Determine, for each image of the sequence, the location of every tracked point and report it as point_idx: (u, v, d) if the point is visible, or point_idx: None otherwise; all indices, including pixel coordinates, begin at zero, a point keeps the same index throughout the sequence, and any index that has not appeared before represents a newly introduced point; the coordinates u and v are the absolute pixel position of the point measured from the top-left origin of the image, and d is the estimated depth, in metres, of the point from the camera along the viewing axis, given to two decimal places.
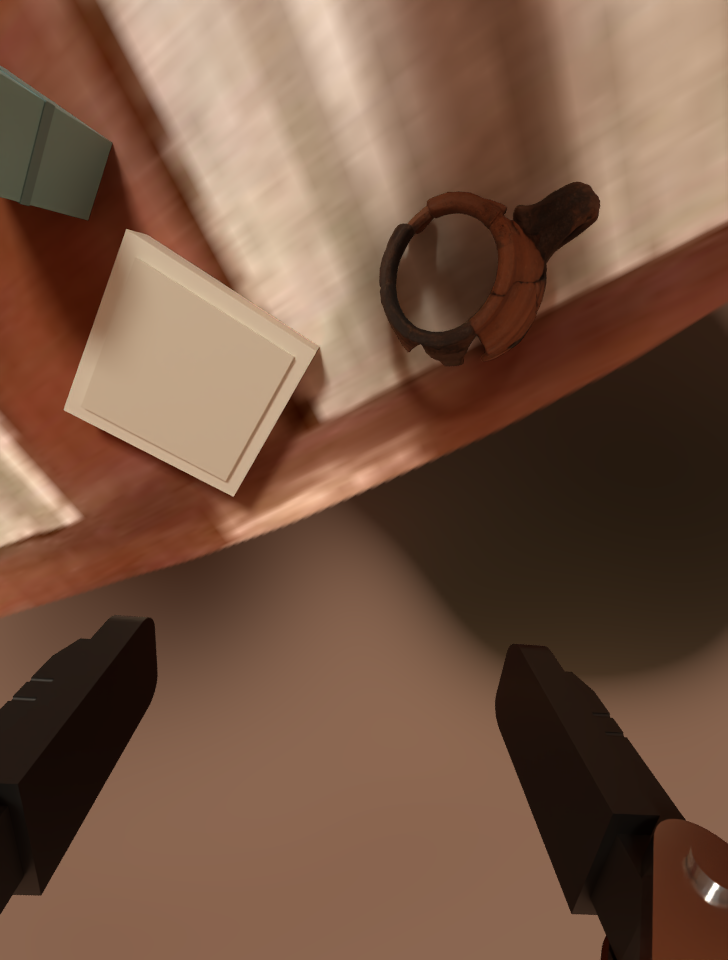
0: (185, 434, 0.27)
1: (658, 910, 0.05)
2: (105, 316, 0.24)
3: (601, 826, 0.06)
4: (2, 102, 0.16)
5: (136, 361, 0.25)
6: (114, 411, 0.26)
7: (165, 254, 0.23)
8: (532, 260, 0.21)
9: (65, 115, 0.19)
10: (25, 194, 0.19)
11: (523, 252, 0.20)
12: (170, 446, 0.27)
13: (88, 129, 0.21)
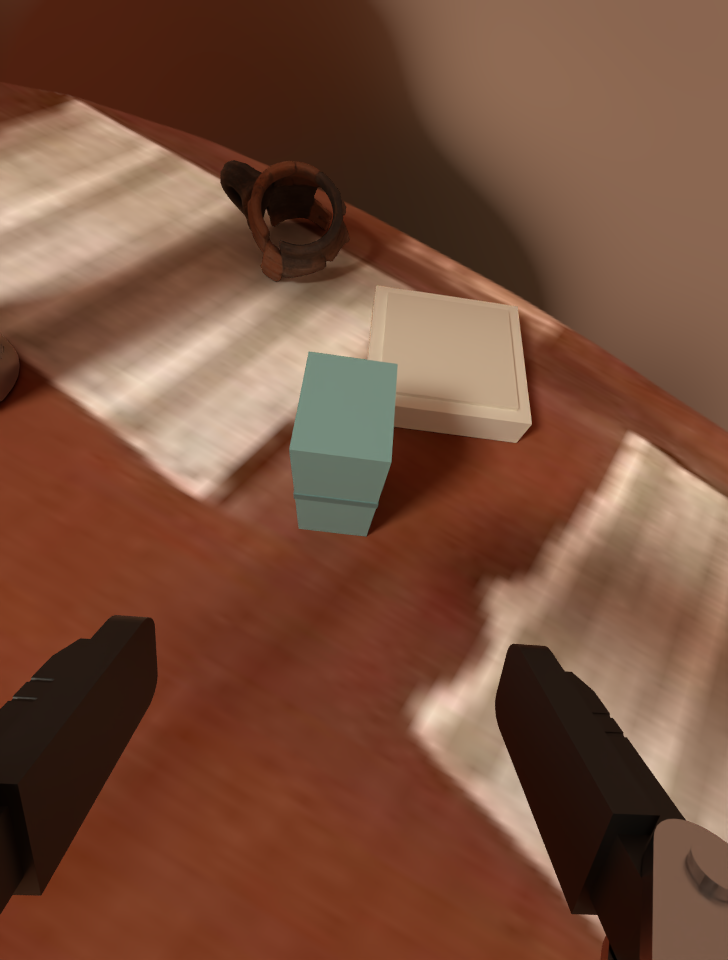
0: (489, 339, 0.32)
1: (657, 910, 0.05)
2: (434, 405, 0.29)
3: (601, 826, 0.06)
4: None
5: (454, 378, 0.29)
6: (505, 386, 0.30)
7: None
8: None
9: None
10: None
11: None
12: (506, 347, 0.31)
13: None
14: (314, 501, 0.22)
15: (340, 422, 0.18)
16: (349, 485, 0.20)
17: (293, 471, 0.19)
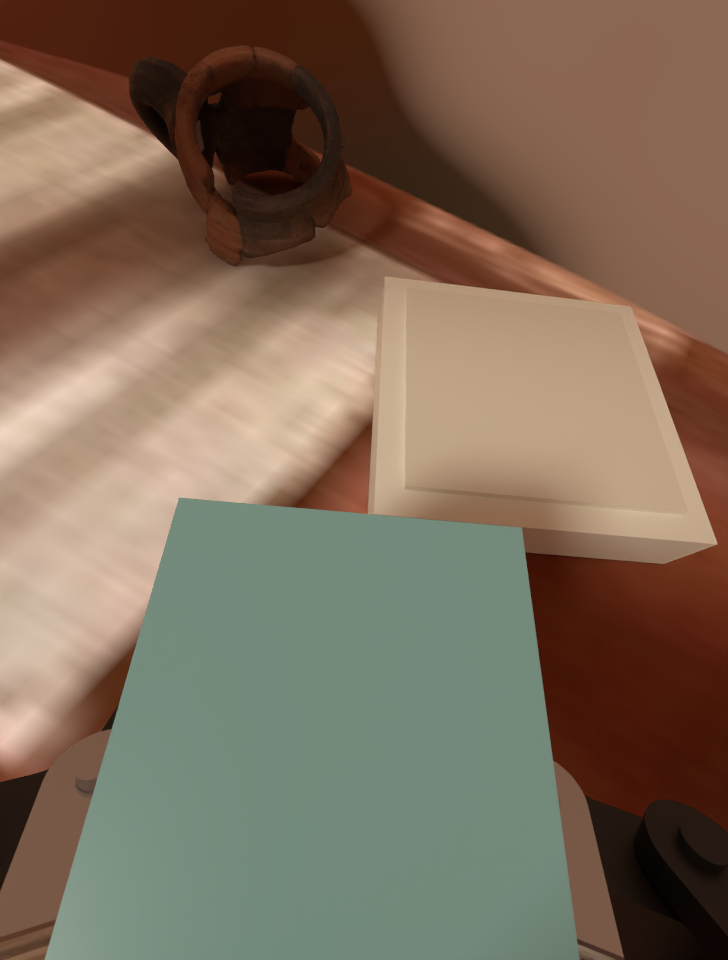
0: (600, 369, 0.17)
1: None
2: (519, 514, 0.14)
3: None
4: None
5: (551, 451, 0.15)
6: (651, 462, 0.15)
7: (377, 457, 0.14)
8: None
9: None
10: None
11: None
12: (634, 382, 0.17)
13: None
14: None
15: (300, 943, 0.03)
16: None
17: None
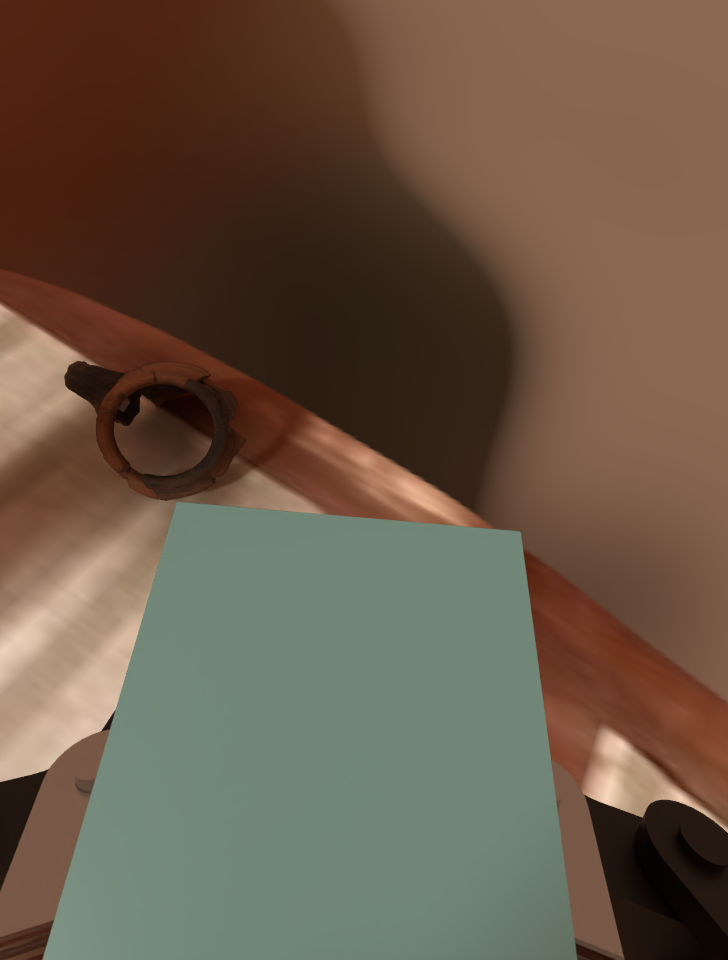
0: None
1: None
2: None
3: None
4: None
5: None
6: None
7: None
8: (125, 377, 0.25)
9: None
10: None
11: None
12: None
13: None
14: None
15: (297, 953, 0.03)
16: None
17: None
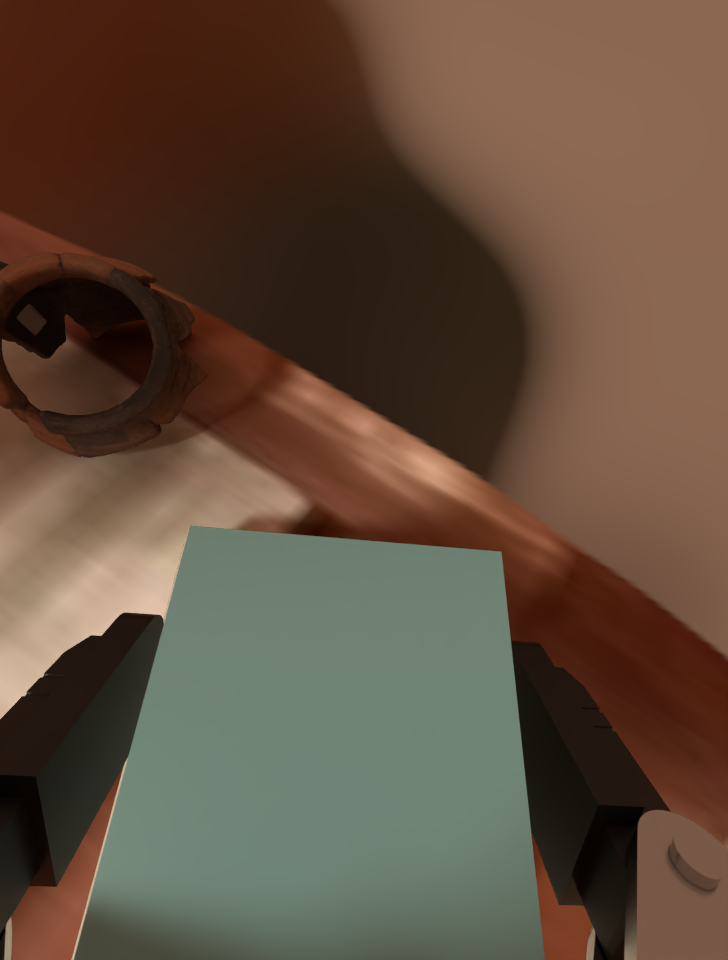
0: None
1: (640, 897, 0.05)
2: None
3: (588, 817, 0.06)
4: None
5: None
6: None
7: (101, 856, 0.12)
8: None
9: None
10: None
11: None
12: None
13: None
14: None
15: (299, 923, 0.04)
16: None
17: None
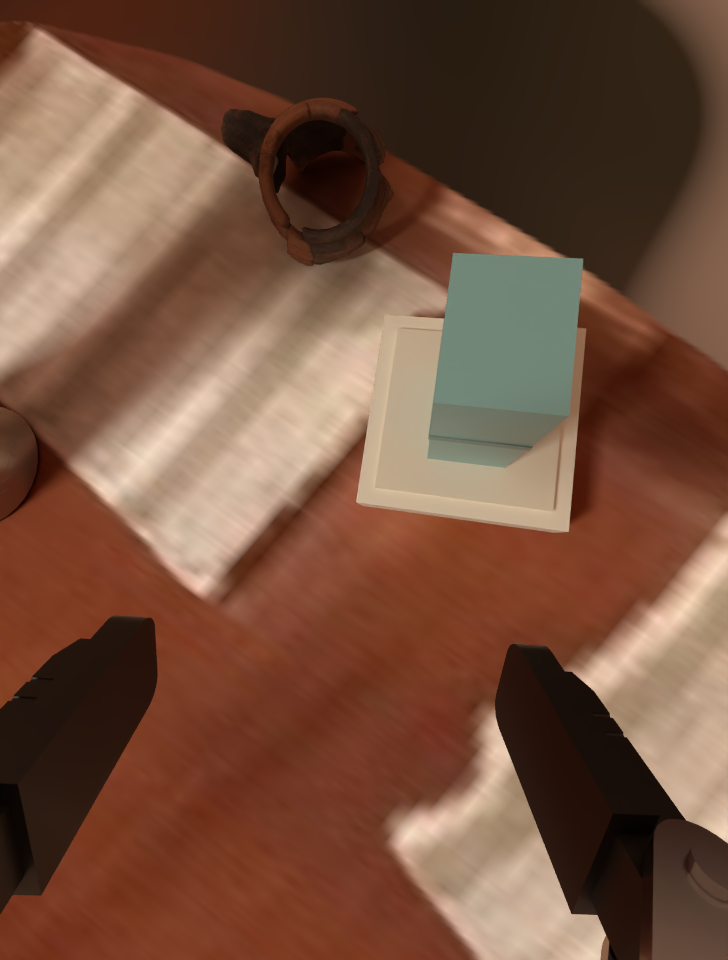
0: None
1: (658, 910, 0.05)
2: (441, 506, 0.23)
3: (601, 826, 0.06)
4: None
5: (471, 465, 0.23)
6: (541, 475, 0.23)
7: (362, 466, 0.25)
8: None
9: None
10: None
11: None
12: None
13: None
14: (451, 442, 0.19)
15: (498, 360, 0.14)
16: (501, 431, 0.16)
17: (433, 419, 0.16)
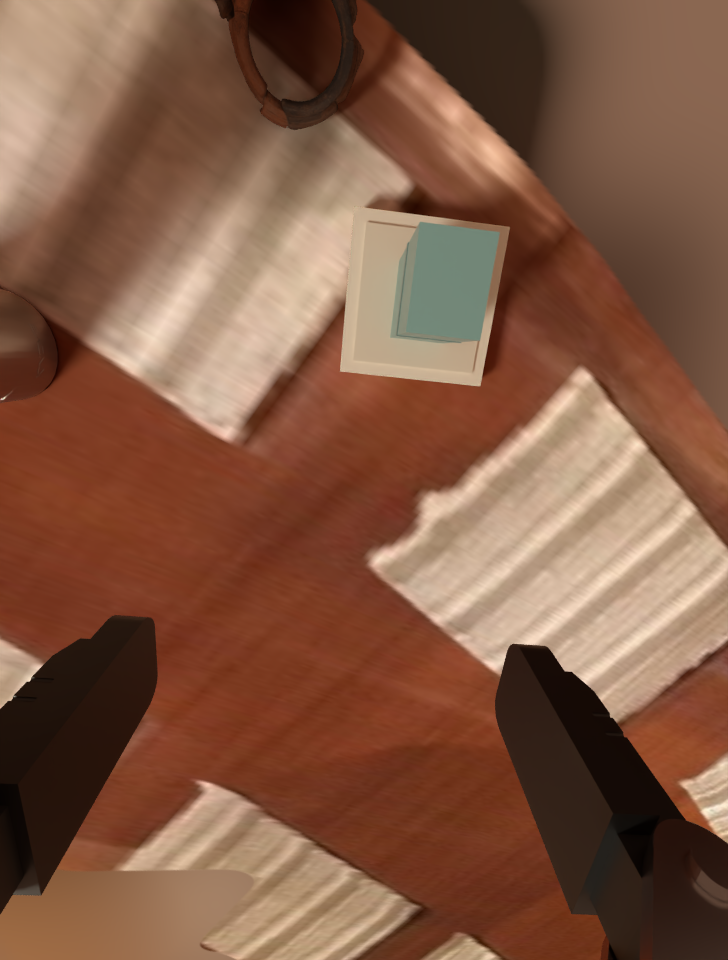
0: None
1: (658, 910, 0.05)
2: (399, 371, 0.34)
3: (601, 826, 0.06)
4: None
5: (421, 342, 0.33)
6: (466, 348, 0.33)
7: (342, 343, 0.33)
8: None
9: (406, 248, 0.27)
10: None
11: None
12: None
13: (403, 254, 0.29)
14: (410, 337, 0.29)
15: (444, 304, 0.23)
16: (442, 338, 0.26)
17: (402, 333, 0.25)
